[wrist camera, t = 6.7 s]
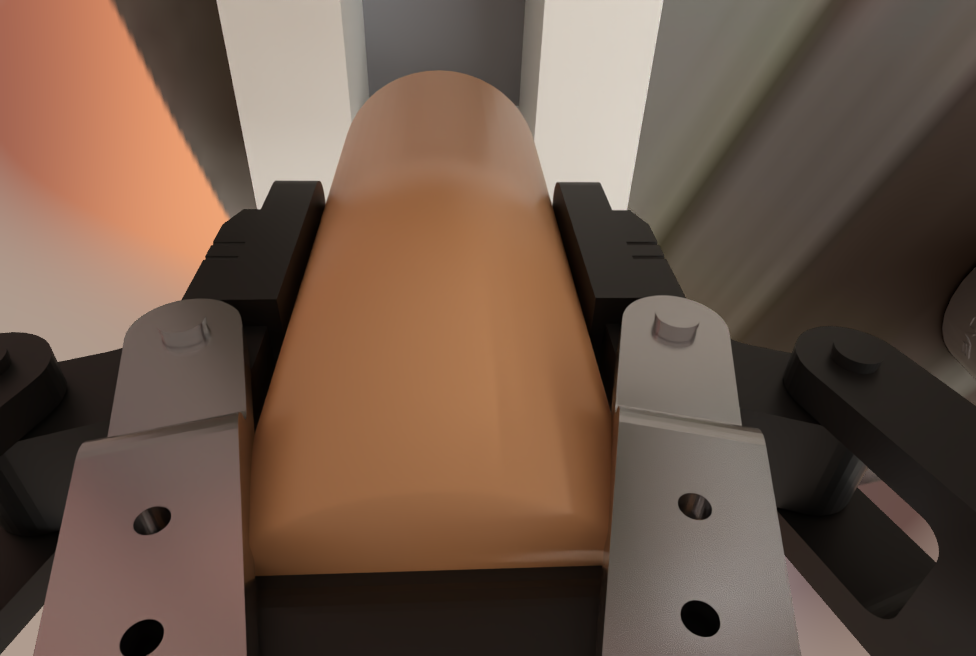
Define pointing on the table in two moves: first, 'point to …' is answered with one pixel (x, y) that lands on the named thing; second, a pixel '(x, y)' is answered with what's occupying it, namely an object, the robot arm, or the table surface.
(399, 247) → the plug
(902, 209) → the table surface
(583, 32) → the socket block
